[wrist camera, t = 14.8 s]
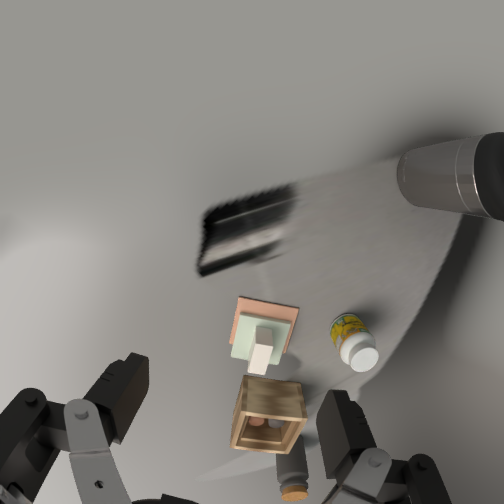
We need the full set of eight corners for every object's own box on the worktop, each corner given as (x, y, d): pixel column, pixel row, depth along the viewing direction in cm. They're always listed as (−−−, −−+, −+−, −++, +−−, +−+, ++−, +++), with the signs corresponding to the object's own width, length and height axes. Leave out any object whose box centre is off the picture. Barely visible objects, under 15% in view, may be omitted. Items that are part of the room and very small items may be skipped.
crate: (300, 383, 43) (307, 418, 34) (284, 419, 45) (288, 454, 37) (243, 374, 43) (241, 410, 34) (233, 412, 45) (229, 447, 36)
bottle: (282, 450, 48) (286, 504, 33) (270, 438, 47) (272, 495, 32) (307, 442, 47) (316, 497, 32) (296, 429, 46) (304, 487, 31)
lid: (290, 321, 40) (295, 341, 34) (277, 361, 42) (280, 384, 36) (240, 311, 40) (237, 331, 34) (231, 353, 42) (227, 375, 36)
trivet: (298, 308, 40) (298, 309, 40) (284, 352, 42) (285, 353, 41) (239, 296, 40) (238, 297, 40) (229, 342, 42) (229, 343, 41)
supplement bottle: (326, 342, 41) (341, 377, 32) (331, 312, 40) (349, 344, 31) (357, 341, 41) (377, 374, 32) (363, 312, 40) (387, 341, 31)
